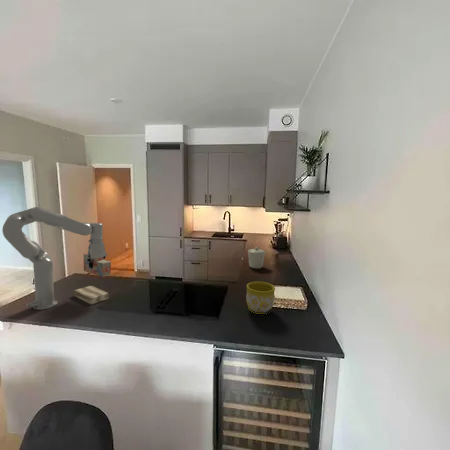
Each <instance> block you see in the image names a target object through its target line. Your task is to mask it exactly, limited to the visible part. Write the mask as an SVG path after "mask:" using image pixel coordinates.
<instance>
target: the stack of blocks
mask: <svg viewBox="0 0 450 450" xmlns="http://www.w3.org/2000/svg"><path fill="white" fill-rule="evenodd" d="M87 254H88V252H87V253H86V252H85V253H83V272H86V273H89V274H93V275H95V276H98V277H101V278H104V277H108V276H111V269H112V268H111V267H112V261H109V260H105V259H104V260H102V259H103V257H100V258H94V259H93V261H92V262H93V268H90V267H89V262H88V261H87V260H86V259H85V258H84V257H85V256H86V255H87ZM88 259H89V257H88Z"/></svg>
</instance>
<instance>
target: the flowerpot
mask: <svg viewBox="0 0 450 450" xmlns="http://www.w3.org/2000/svg"><path fill="white" fill-rule="evenodd" d="M275 290H276V288H275V286H274V285H273V284H271V283H270V282H265V281H252V282H248V283H247V284H246V295H245V297H246V298H245V300H246V304H247V306H248V310H249V311H251V312H250V313H252V312H253V311H254V312H253V313H256V312H258V313H256V314H265V313H264V312H267V311H269V310H270V309H271V310H272V308H273V306H274V304H275V303H274V302H275ZM252 310H253V311H252ZM253 313H252V314H253ZM256 314H255V315H256Z"/></svg>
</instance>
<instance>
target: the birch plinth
mask: <svg viewBox="0 0 450 450" xmlns="http://www.w3.org/2000/svg"><path fill="white" fill-rule="evenodd" d="M73 295H74V297H76V298H77V299H80V300H81V301H83V302H85V303H87V304H89V305H90V306H91V305H94V304H97V303H100V302H103V301H106V300H108V299H109V298H110V296H109V292H107V291H105V290H103V289H100V288H98V287H96V286H94V285H88V286H86V287H85V286H84V287H81V288H78V289H74V290H73Z"/></svg>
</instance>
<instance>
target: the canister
mask: <svg viewBox="0 0 450 450" xmlns="http://www.w3.org/2000/svg"><path fill="white" fill-rule="evenodd" d="M247 255H248V265H249V267H250V268H251V269H254V270H255V269H256V270H258V269H261V268H263V267H264V261H265V255H266V251H265V250H264V249H261V248H260V249H259V246H255V248H251V249H248V250H247Z"/></svg>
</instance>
